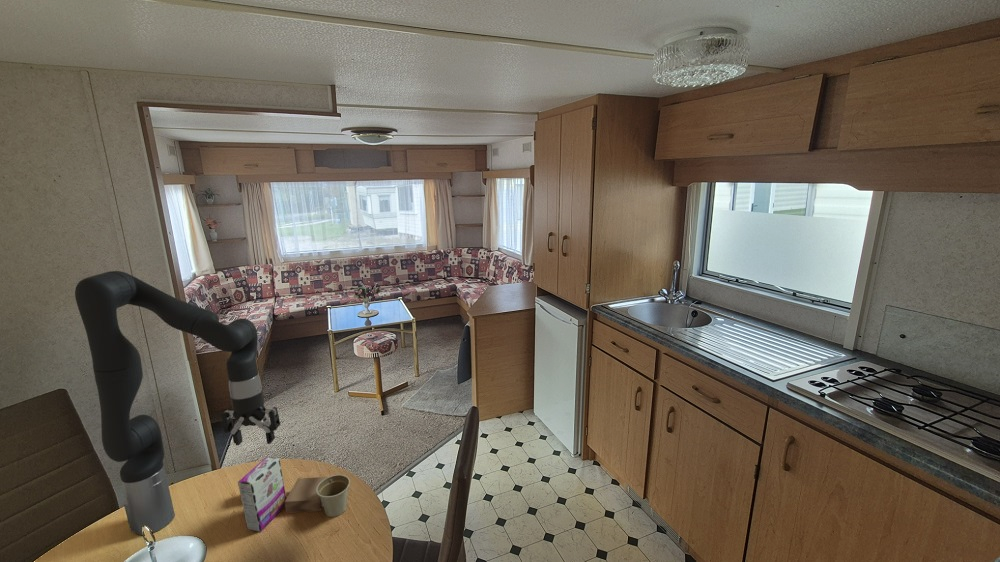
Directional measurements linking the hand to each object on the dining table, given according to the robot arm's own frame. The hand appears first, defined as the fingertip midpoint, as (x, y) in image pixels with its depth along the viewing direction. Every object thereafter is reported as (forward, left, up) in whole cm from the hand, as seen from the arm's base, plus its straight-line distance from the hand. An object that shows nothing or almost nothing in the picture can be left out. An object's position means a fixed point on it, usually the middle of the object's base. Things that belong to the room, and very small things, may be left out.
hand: (255, 442), depth 118 cm
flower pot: (+20, +1, -25) cm, 32 cm away
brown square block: (+10, +6, -25) cm, 28 cm away
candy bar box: (0, 0, -25) cm, 25 cm away
